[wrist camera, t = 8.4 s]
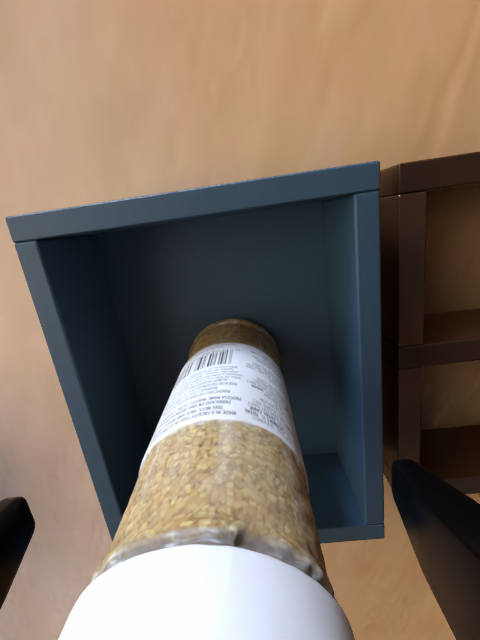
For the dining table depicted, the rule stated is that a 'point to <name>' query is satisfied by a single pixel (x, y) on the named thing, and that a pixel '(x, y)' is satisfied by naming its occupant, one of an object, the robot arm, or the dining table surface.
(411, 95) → the dining table surface
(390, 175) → the brown cubby shelf
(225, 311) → the open box shelf
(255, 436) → the sprinkles bottle
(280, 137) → the dining table surface
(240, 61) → the dining table surface
